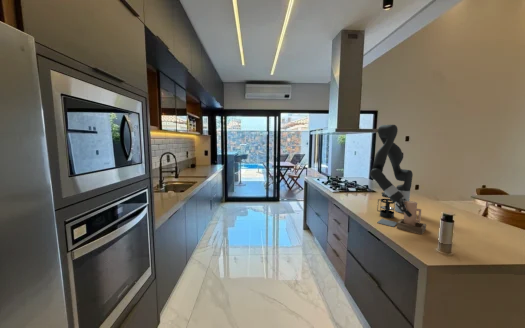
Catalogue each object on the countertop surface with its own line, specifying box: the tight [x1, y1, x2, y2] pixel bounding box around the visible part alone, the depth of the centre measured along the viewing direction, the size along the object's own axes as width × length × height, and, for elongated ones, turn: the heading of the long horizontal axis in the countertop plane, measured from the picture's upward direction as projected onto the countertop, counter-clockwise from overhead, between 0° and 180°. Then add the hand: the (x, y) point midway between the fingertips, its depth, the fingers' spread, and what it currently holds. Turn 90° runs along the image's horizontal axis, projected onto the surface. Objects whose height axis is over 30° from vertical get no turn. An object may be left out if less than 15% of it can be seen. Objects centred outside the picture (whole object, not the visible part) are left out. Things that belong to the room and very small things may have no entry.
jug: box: [403, 200, 422, 226], centre depth 141 cm, size 6×9×17 cm
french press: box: [376, 191, 395, 219], centre depth 165 cm, size 12×9×23 cm
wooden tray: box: [396, 218, 427, 235], centre depth 142 cm, size 11×13×4 cm
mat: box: [376, 218, 398, 228], centre depth 151 cm, size 10×10×1 cm
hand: (412, 214), depth 141 cm, fingers open, 8 cm apart
